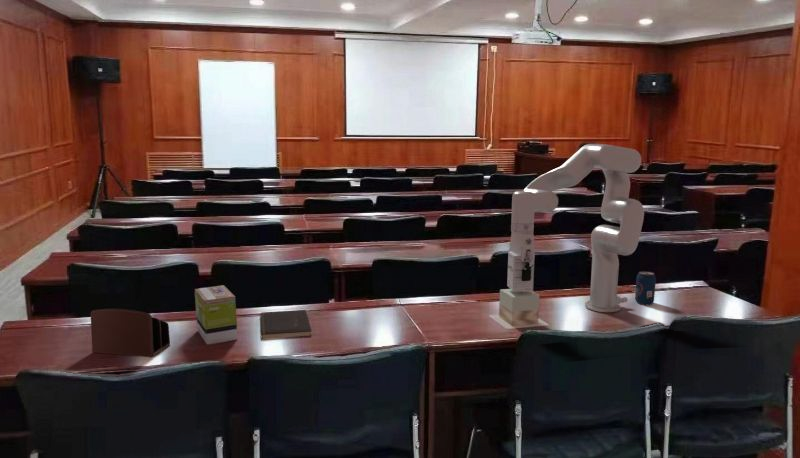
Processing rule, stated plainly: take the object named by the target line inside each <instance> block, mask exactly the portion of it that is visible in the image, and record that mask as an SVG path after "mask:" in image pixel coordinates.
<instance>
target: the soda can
mask: <svg viewBox="0 0 800 458" xmlns="http://www.w3.org/2000/svg"><path fill="white" fill-rule="evenodd" d="M635 280H636V281H635V283H636V284H635V293H634V299H635V302H636V303H637V304H639V303H640V304H639V305H643V304H651V305H653V303H654V302H655V292H656V283H657V282H656V281H657V277H656V275H655V273H654V272H653V271H648V270H645V271H644V270H642V271H639V272H638V274H637V275H636V279H635Z"/></svg>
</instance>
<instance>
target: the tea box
mask: <svg viewBox="0 0 800 458" xmlns="http://www.w3.org/2000/svg"><path fill="white" fill-rule="evenodd" d="M194 298H195V299H194V301H195V315H196V316H195V317H196V330H197V331H198V334H199V336H201V338H202V340H204V343H205V344H206V345H213V344H219V343H220V344H221V343H225V342H231V341H236V340H238V327H237V326H238V323H237V322H238V321H237V320H238V319H237V306H236V303H237V302H236V296H235V295H234V293H232V292H231V291H230V290H229V289H228V288H227V287H226V286H225V285H224V284H223V285H216V286H208V287H200V288H194Z"/></svg>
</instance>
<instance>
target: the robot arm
mask: <svg viewBox="0 0 800 458" xmlns="http://www.w3.org/2000/svg"><path fill="white" fill-rule="evenodd" d="M641 165H642V156H641V154H640V152H639V151H638V150H637V149H634V148H630V147H622V146H619V145H618V146H617V145H611V144H606V143H604V144H603V143H588V144H585V145H583V146H582V147H580V148H579V149H578V150H577V151H576V152H575V153H573V154H572V156H570V157H569V158H568V159H567V160H566V161H564V163H562V164H561V165H560V166H559V167H556V168H554V169H552V170H550V171H548V172H546V173H544V174H541V175H539V176H538V177H537V178H535V179H534V180H532V181H531V182H530V183H529V184H527V186H526V187H525V188H524V189H522V190H517V191H514V192H513V194H512V195H511V196H512V197H511V199H512V200H511V219H510V221H511V222H510V223H511V224H510V231H511V234H510V243H509V244H510V245H509V249H508V252H509V251H511V252H513V253H515V254H517V255H519V256H520V261H521V262H522V266H523V269H522V281H530V280H531V270H532V266H533V263H534V264H535V257H536V255H535V254H536V251H535V247H536V245H535V235H534V228H535V226H534V225H535V224H534V223H535V213H545V214H546V213H551V212H553V211H554V210H556V208H558V205H559V197H558V196H557V194H556V193H555V192H554V191H557V190H562V189H568V188H571V187H575V186H576V185H578V184H579V183H580V182H581V181H582V180H583V179H584V178H586V177H587V176H588V175H589V174H590V173H591V172H592V171H593V170H594V169H601V170H602V172H603V175H604V178H605V187H604V188H605V189H604V193H603V198H602V201H601V202H602V203H601V208H600V215H601V218H602V219H603V220H605V221H607V222H610V223H616V224H619V226H614V225H610V224H600V225H598V226H597V225H596V227H594V228H593V230H592V231H591V234H590V244H591V251H592V253H591V254H592V256H591V257H592V259H591V274H590V275H591V278H590V291H589V292H590V293H589V300H587V301H586V302H585V303H584V307H585V308H586V309H588V310H591V311H593V312H599V313H616V312H618V311H620V310H621V305H620V304H621V303H627V302H628V297H625V296H623V297H621V296H618V282H619V270H620V268H619V266H620V262H619V261H620V260H619V256H618V255H621V256H630V255H632V254H633V253H634V252H635V251H636V249H637V247H638V245H639V241H640V237H641V232H642V227H643V223H644V218H645V217H644V216H645V210H644V206H643V204H642V203H641V202H640V201H639V200H637V199H634V198H630V197H629V196H630V190H631V181H630V180H631V179H630V177H629V174H632V173H635V172H636V171H637V170H638V169H639V168H640V167H641ZM526 255H527V257H528V259H529V260H524V258H525V257H526ZM527 262H528V263H527ZM525 263H527V264H526V265H525Z"/></svg>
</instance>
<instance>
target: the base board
mask: <svg viewBox="0 0 800 458" xmlns="http://www.w3.org/2000/svg"><path fill="white" fill-rule="evenodd" d="M488 317H490V318H491V319H492V320H494V321H495V322H497V323H498V324H499V325H501V326H502V327H503V328H504V329H506V330H511V329H512V330H513V329H520V328H521V329H522V328H533V327H534V328H535V327H545V326H550V324H549V323H547V322H546V321H544V320H543V319H541V318H539V317H538V323H537V324H526V325H515V326H511V325H510V324H508V323H507V322H506V321H504V320H503V319H501V318H500V317H499V314H490V315H488Z"/></svg>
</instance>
